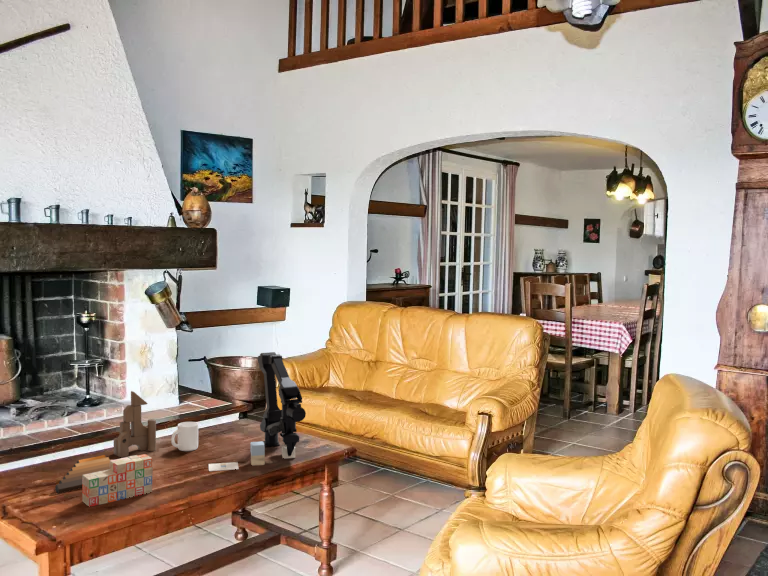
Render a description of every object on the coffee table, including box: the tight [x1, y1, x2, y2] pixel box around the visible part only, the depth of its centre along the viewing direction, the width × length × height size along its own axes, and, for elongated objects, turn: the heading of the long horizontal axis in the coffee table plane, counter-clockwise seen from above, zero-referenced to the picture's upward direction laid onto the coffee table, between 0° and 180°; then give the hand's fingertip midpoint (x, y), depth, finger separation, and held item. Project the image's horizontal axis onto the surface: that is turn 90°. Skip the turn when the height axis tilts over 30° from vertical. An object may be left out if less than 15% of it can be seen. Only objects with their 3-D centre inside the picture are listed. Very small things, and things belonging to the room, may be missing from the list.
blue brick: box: [249, 440, 266, 457], centre depth 268 cm, size 5×5×4 cm
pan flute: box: [54, 454, 111, 494], centre depth 250 cm, size 25×3×25 cm
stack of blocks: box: [81, 453, 154, 508], centre depth 230 cm, size 21×6×12 cm, turn 132°
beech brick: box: [250, 454, 266, 466], centre depth 268 cm, size 5×5×4 cm
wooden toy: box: [113, 390, 157, 458], centre depth 278 cm, size 16×7×25 cm, turn 133°
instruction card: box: [208, 461, 240, 472], centre depth 263 cm, size 8×11×1 cm
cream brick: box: [281, 444, 296, 459], centre depth 277 cm, size 5×5×4 cm
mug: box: [170, 421, 199, 452], centre depth 284 cm, size 12×8×10 cm
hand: (288, 453), depth 278 cm, fingers closed on cream brick, 5 cm apart
